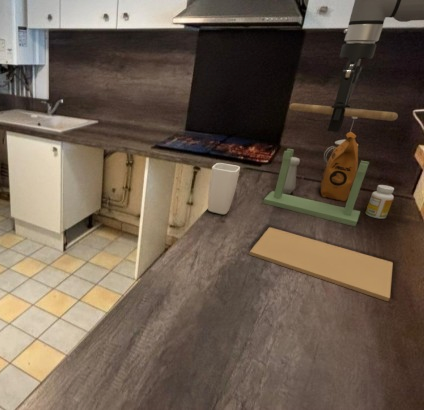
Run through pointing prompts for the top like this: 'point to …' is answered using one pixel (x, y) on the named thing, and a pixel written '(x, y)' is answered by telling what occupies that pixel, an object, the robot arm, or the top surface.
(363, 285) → the mat
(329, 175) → the coffee package
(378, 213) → the supplement bottle
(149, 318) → the top surface
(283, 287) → the top surface
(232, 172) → the cup
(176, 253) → the top surface
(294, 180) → the salt shaker
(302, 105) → the rod
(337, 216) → the rack
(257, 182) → the top surface
